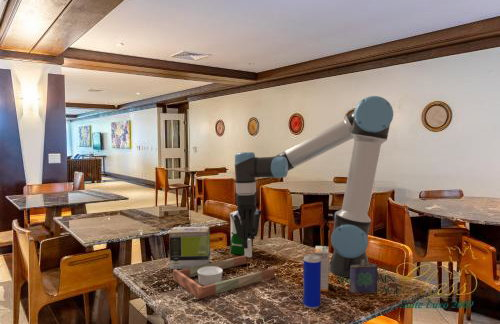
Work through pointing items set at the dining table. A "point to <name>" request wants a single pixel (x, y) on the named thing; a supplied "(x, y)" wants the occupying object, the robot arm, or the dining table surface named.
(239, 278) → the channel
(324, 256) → the supplement box
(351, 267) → the flask
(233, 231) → the milk carton
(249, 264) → the dining table surface
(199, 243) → the tea box
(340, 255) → the robot arm
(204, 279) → the ramekin
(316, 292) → the beverage can
